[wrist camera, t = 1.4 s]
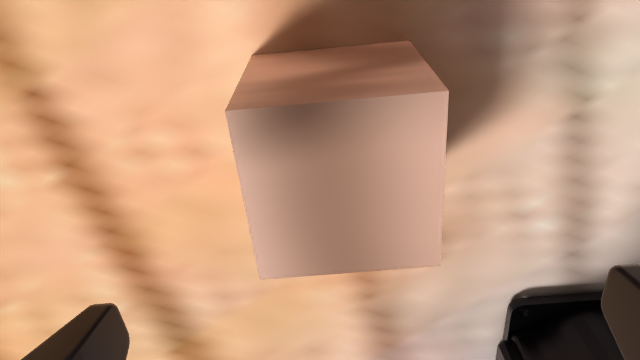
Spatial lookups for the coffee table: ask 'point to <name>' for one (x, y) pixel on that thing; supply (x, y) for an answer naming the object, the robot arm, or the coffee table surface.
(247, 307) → the coffee table surface
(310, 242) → the terracotta cube
